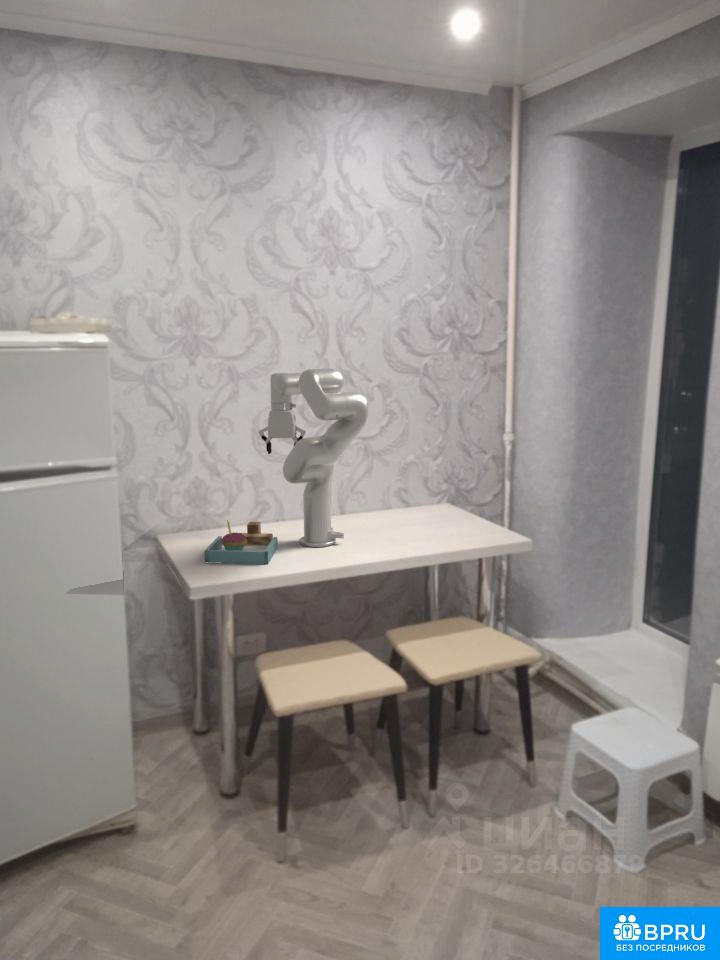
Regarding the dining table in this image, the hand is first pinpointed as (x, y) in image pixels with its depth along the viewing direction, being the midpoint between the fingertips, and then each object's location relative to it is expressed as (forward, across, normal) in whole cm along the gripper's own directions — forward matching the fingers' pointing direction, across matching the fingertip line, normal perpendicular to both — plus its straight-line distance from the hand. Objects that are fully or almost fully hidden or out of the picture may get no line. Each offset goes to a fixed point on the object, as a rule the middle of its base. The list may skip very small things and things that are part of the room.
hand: (282, 453), depth 269 cm
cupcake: (+28, +11, +34) cm, 46 cm away
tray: (+28, +8, +35) cm, 46 cm away
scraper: (+28, +8, +19) cm, 35 cm away
